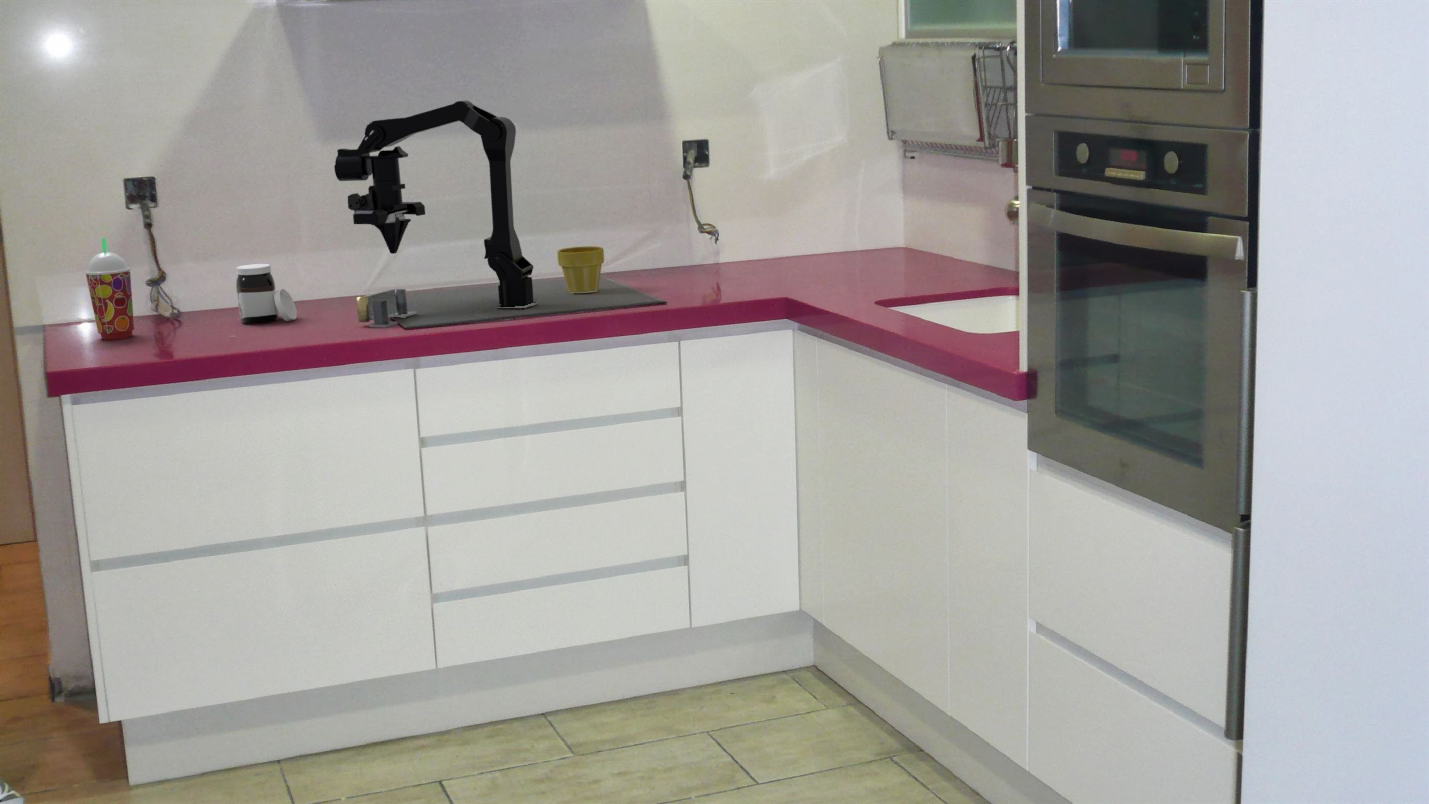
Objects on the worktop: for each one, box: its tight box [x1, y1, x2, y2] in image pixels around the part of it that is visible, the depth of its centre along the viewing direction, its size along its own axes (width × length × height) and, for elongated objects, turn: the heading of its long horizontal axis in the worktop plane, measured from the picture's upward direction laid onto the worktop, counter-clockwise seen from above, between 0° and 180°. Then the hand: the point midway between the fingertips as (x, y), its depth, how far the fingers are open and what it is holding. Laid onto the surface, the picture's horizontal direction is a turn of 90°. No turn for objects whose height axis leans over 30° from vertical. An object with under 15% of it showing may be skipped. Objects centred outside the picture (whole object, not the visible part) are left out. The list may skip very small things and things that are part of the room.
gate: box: [355, 288, 397, 323], centre depth 289 cm, size 11×2×5 cm, turn 155°
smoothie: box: [84, 237, 135, 341], centre depth 282 cm, size 8×8×20 cm
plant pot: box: [557, 245, 605, 293], centre depth 317 cm, size 10×10×10 cm
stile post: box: [369, 300, 398, 329], centre depth 285 cm, size 4×4×5 cm
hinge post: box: [388, 288, 418, 319], centre depth 296 cm, size 5×5×6 cm
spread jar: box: [235, 263, 298, 325], centre depth 296 cm, size 12×11×12 cm
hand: (393, 253), depth 303 cm, fingers closed
